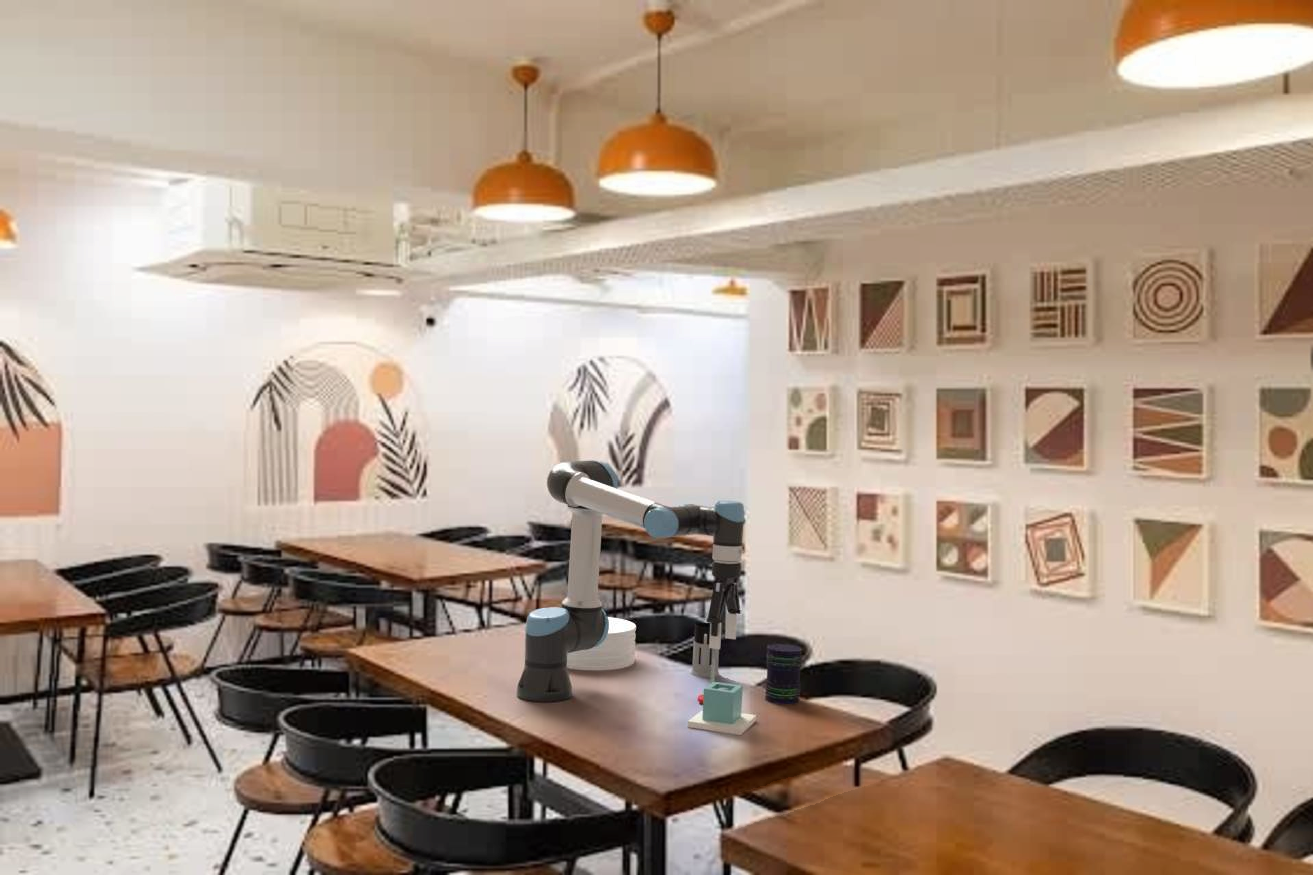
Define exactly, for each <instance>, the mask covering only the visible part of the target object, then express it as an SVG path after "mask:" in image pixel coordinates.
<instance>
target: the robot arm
mask: <svg viewBox="0 0 1313 875" xmlns="http://www.w3.org/2000/svg"><path fill="white" fill-rule="evenodd" d="M618 483H619V482H618V477H617V474H616V472H615V470H613V468H612V467H611V465H610V464H608V463H607V462H604V461H602V460H567V461H563V462H560V463H558V464H555V466H553V467H552V469H550V471H549V473H548V475H547V479H546V487H547V490H548V492H549V494H550V496H551V497H552V498H553V499H554V500H556V501H557V502H559V503H562V504H565V505H567V506H566V507H567V509H568V510H569V511H570V512H571V515H572V517H571V528H570V529H571V531H570V547H569V548H570V549H569V563H568V564H569V565H568V581H567V594H566V595H567V596H566V597H565V598H564V599H563V600H562V601H561V607H558V606H550V607H543V608H537V609H534V610H533V611H531V612H530V613H529V614H528V615H527V617H526V624H525V639H524V640H525V641H524V642H525V644H524V645H525V646H524V667H523V670H522V673H521V676H520V679H519V681H518V684H517V686H516V687H517V688H516V689H517V690H516V695H517V697H519V698H520V699H523V700H526V701H532V702H538V703H539V702H541V703H542V702H544V703H545V702H546V703H547V702H549V703H550V702H551V703H552V702H560V701H561V702H562V701H565V700H568V699H569V698H570V699H571V698H572V696H573V686H572V682H571V678H570V674H569V672H568V668H567V653H571V652H576V651H580V650H588V649H591V648H593V647H596V646H598V645H600V644H601V643H602V642H603V641H604V640H605V638H606V636H607V634H608V630H609V620H608V617H609V616H607V613H606V611H605V610H604V609H603V603H602V601H601V600H600V599H599V598H598V596H599V595H598V592H599V591H598V590H599V579H600V576H599V575H600V573H599V572H600V560H601V559H600V558H601V546H602V545H601V544H602V542H601V541H602V528H603V526H602V525H603V515H605V516H608V517H610V518H613V519H615V520H618V521H621V522H623V523H626V524H629V525H631V526H632V525H633V526H634V527H637V528H640V529H643V530H645V531H646V533H647V534H648V535H649V536H650V537H653V538H655V539H668V538H673V537H674V538H675V537H685V536H693V535H702V536H708V537H712V538H713V540H712V542H713V544H712V558H711V559H712V560H713V561H712V562H711V576H712V577H715V578H717V579H718V580H717V582H713V585H712V594H711V600H710V603H709V608H708V610H709V611H708V615H707V618H706V623H710V640H709V648H713V649H719V650H721V640H722V636H721V635H722V622H721V620H722V618H723V617H722V616H723V613H724V610H725V609H724V608H725V605H726V610H727V613H726V614H725V636H724V637H725V639H728V640H736V639H737V625H738V624H737V621H738V620H737V619H738V615H741V605H740V595H739V578H741V576H742V563H741V561H742V556H743V555H742V554H744V553H745V550H744V549H743V535H744V534H743V533H744V526H745V525H744V522H745V513H744V512H745V507H744V504H743V503H742V502H740V501H736V500H717V501H716V502H715V503H714V507H712V506H704V505H696V504H695V503H693V504H692V503H691V504H689V503H683V504H680V505H678V506H672V507H671V506H668V505H665V504H661V503H658V502H656V501H653V500H650V499H647V498H645V497H642V496H639V495H636V494H633V493H630V492H628V491H625V490H622V489H619V488H618V487H619V484H618Z"/></svg>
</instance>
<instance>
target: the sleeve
mask: <svg viewBox="0 0 1313 875" xmlns="http://www.w3.org/2000/svg"><path fill="white" fill-rule="evenodd" d="M718 688H728V689H730V691H728V690H721V689H718ZM703 694H704V695H703ZM703 694H702V695H703V704H702V710H703V717H702V720H707V721H714V722H720V723H727V724H733V723H734V722H736V721H737V720H738V719H739V718H740V717H741V713H742V712H743V711H742V710H743V709H742V707H743V706H742V705H743V685H739V684H733V683H732V684H731V683H724V682H718V681H715V682H712V683H711V684H710V683H709V684H708V685H707V686H705V687H704V688H703Z"/></svg>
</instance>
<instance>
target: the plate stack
mask: <svg viewBox="0 0 1313 875" xmlns="http://www.w3.org/2000/svg"><path fill="white" fill-rule="evenodd" d="M607 617H608V620H609V630H608V634H607V636H606V638H605V640H604V641H603V642H602V643H601V644H600V645H598V646H596V647H593V648H591V649H588V650H580V651H576V652H571V653H567V669H570V670H579V671H610V670H611V671H612V670H617V669H618V670H620V669H623V668H624V667H625V668H627V667H630V666H633V664H634V663H635V661H636V660H635V659H636V658H635V654H636V650H635V648H636V630H637V625H636V624H635V623H634V622H632V621H629V620H626V619H623V618H617V617H611V616H607ZM625 668H624V669H625Z"/></svg>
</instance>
